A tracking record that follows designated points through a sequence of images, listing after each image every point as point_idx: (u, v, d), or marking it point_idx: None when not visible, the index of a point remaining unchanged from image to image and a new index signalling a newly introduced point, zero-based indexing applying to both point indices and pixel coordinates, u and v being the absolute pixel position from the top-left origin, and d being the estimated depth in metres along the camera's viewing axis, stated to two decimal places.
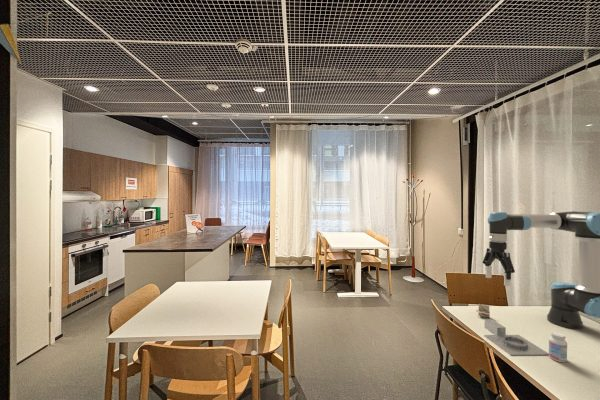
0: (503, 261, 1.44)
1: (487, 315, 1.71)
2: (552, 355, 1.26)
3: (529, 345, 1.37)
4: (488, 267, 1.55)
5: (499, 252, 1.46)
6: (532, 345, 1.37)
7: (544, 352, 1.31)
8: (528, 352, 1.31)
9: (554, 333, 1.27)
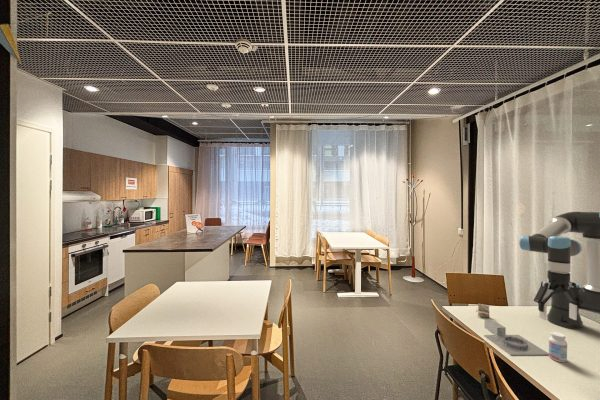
0: (547, 292, 1.27)
1: (487, 315, 1.71)
2: (552, 355, 1.26)
3: (529, 345, 1.37)
4: (571, 305, 1.27)
5: None
6: (532, 345, 1.37)
7: (544, 352, 1.31)
8: (528, 352, 1.31)
9: (554, 333, 1.27)
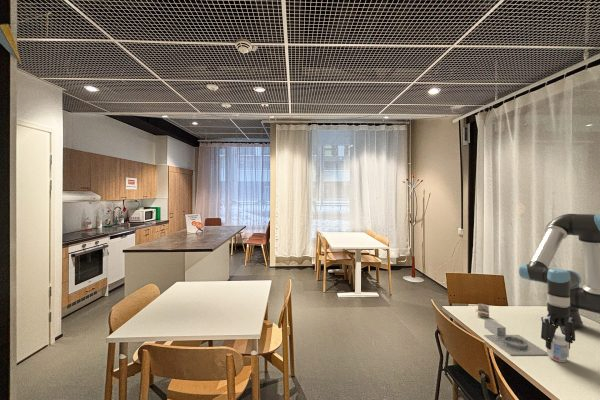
0: (550, 327, 1.27)
1: (486, 315, 1.72)
2: None
3: (529, 345, 1.37)
4: None
5: None
6: (532, 345, 1.37)
7: (544, 352, 1.31)
8: (528, 352, 1.31)
9: None
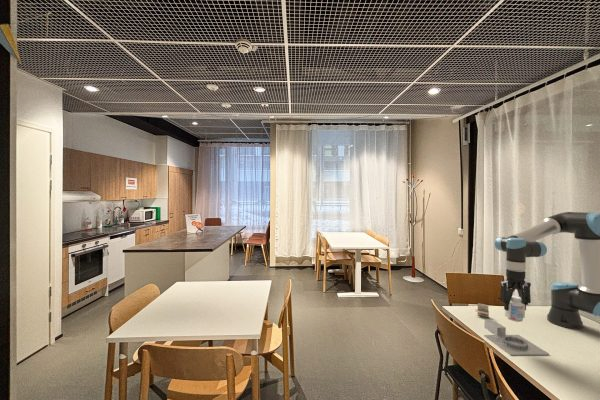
0: (508, 291, 1.39)
1: (486, 315, 1.72)
2: None
3: (529, 345, 1.37)
4: None
5: None
6: (532, 345, 1.37)
7: (544, 352, 1.31)
8: (528, 352, 1.31)
9: (512, 296, 1.39)
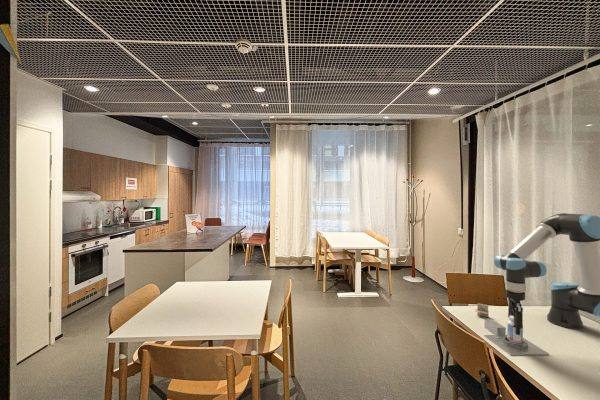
0: (516, 314, 1.35)
1: (486, 315, 1.72)
2: None
3: (529, 345, 1.37)
4: None
5: (514, 302, 1.36)
6: (532, 345, 1.37)
7: (544, 352, 1.31)
8: (528, 352, 1.31)
9: None
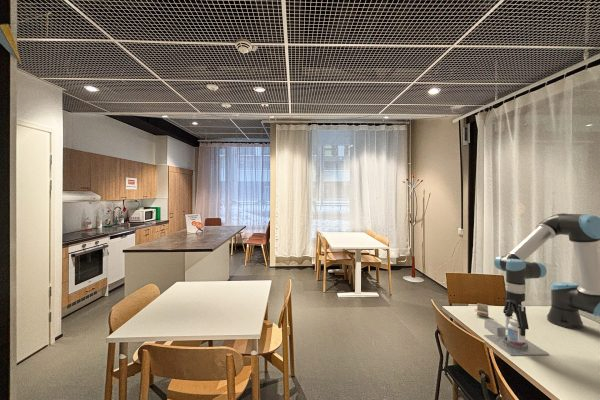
0: (518, 314, 1.34)
1: (486, 314, 1.72)
2: (519, 343, 1.35)
3: (529, 345, 1.37)
4: (508, 318, 1.44)
5: (515, 304, 1.36)
6: (532, 345, 1.37)
7: (544, 352, 1.31)
8: (528, 352, 1.31)
9: (515, 321, 1.37)
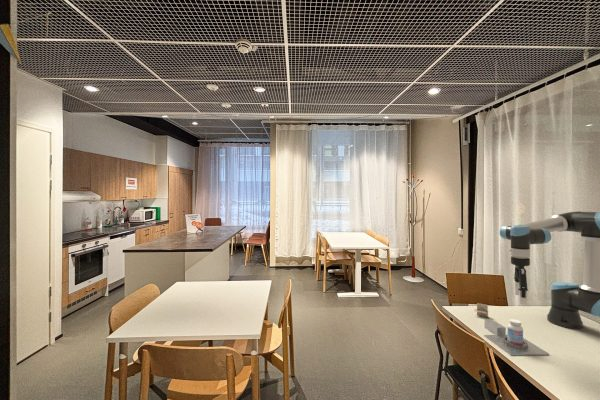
0: None
1: (485, 314, 1.72)
2: (519, 343, 1.35)
3: (529, 345, 1.37)
4: (517, 283, 1.46)
5: (518, 268, 1.39)
6: (532, 345, 1.37)
7: (544, 352, 1.31)
8: (528, 352, 1.31)
9: (515, 321, 1.37)
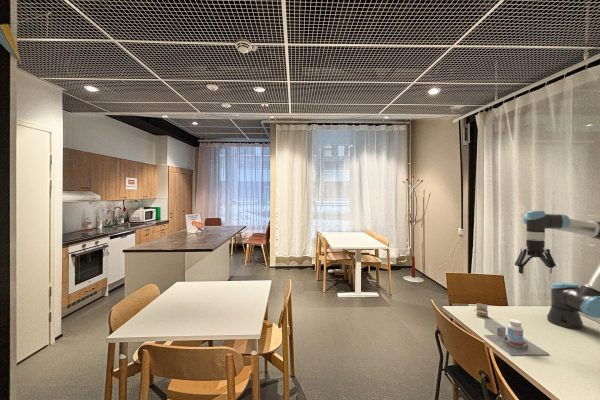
0: (525, 257, 1.51)
1: (485, 314, 1.72)
2: (519, 343, 1.35)
3: (529, 345, 1.37)
4: (546, 268, 1.51)
5: None
6: (532, 345, 1.37)
7: (544, 352, 1.31)
8: (528, 352, 1.31)
9: (515, 321, 1.37)
